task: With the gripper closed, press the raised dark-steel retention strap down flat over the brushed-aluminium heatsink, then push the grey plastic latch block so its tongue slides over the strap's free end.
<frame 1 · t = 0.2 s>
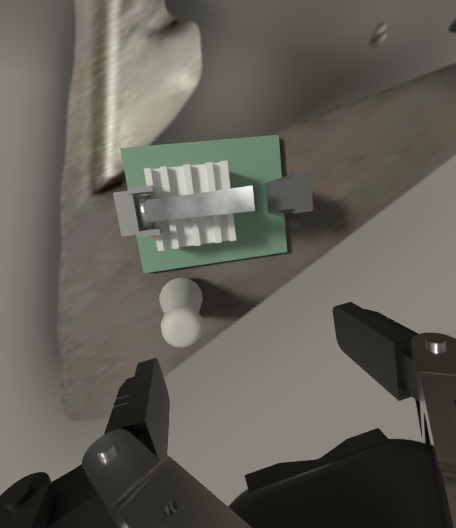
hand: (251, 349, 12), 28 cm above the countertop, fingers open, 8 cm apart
heatsink base: (204, 205, 38), on the countertop
salt shaker: (181, 292, 40), on the countertop
latch: (276, 196, 34), point 6 cm above the countertop, slide at 0.0 cm
strap: (192, 205, 27), point 11 cm above the countertop, hinge at 30.0°
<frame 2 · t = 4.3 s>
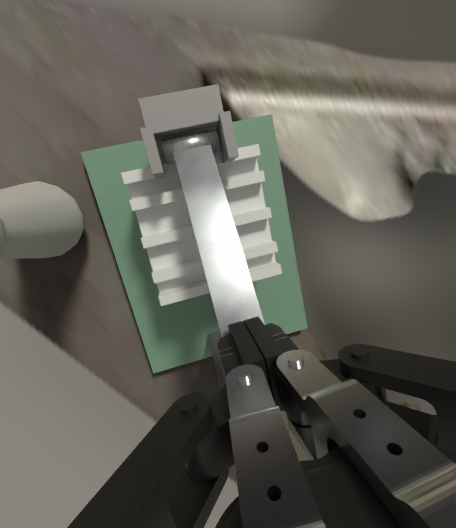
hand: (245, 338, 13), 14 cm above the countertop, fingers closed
heatsink base: (205, 242, 26), on the countertop
salt shaker: (56, 219, 24), on the countertop
latch: (236, 351, 22), point 6 cm above the countertop, slide at 0.0 cm
strap: (214, 232, 15), point 11 cm above the countertop, hinge at 27.4°, touching gripper
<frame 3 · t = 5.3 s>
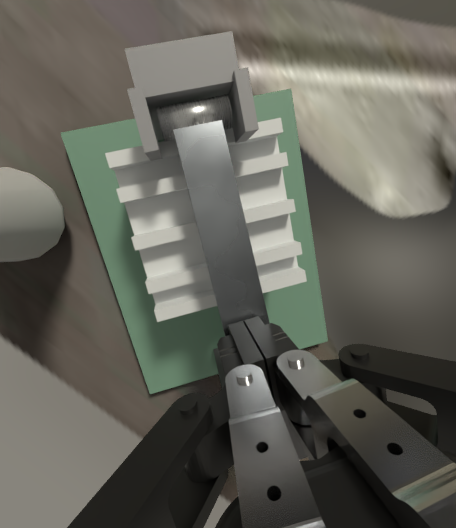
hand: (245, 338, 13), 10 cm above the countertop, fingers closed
heatsink base: (211, 241, 22), on the countertop
salt shaker: (34, 214, 20), on the countertop
latch: (249, 373, 18), point 6 cm above the countertop, slide at 0.0 cm
strap: (224, 239, 13), point 9 cm above the countertop, hinge at 8.6°, touching gripper
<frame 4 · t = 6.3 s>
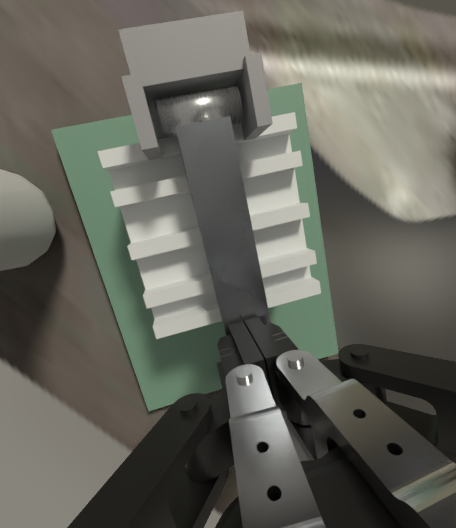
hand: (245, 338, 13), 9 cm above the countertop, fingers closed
heatsink base: (214, 247, 21), on the countertop
salt shaker: (23, 218, 19), on the countertop
latch: (257, 392, 17), point 6 cm above the countertop, slide at 0.0 cm
strap: (229, 246, 13), point 8 cm above the countertop, hinge at -0.1°, touching gripper
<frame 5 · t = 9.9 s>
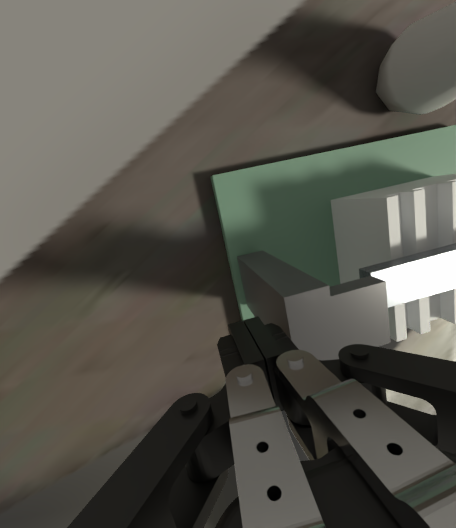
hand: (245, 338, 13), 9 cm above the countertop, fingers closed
heatsink base: (356, 247, 24), on the countertop
salt shaker: (397, 83, 22), on the countertop
latch: (296, 293, 17), point 6 cm above the countertop, slide at 0.0 cm, touching gripper
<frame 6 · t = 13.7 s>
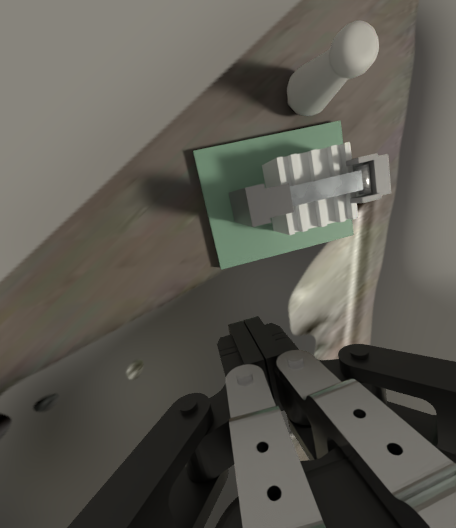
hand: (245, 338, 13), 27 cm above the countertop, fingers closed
heatsink base: (281, 195, 40), on the countertop
salt shaker: (300, 98, 38), on the countertop
latch: (257, 203, 33), point 6 cm above the countertop, slide at 2.8 cm
strap: (318, 189, 32), point 8 cm above the countertop, hinge at -0.2°
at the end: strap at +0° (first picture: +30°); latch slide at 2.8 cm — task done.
